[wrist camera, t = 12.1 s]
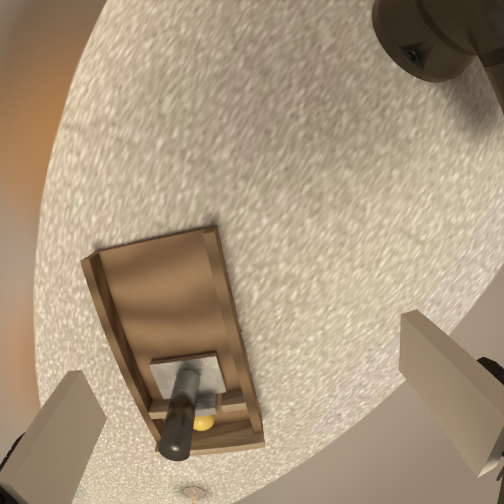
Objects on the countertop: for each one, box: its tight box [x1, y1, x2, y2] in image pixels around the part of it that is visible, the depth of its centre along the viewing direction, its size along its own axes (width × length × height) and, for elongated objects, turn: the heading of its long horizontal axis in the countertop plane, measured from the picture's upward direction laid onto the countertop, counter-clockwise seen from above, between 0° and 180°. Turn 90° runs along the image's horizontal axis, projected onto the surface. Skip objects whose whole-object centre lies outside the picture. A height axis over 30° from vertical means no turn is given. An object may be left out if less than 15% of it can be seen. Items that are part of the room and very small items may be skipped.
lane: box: [81, 225, 265, 457], centre depth 38 cm, size 30×16×6 cm, turn 11°
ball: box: [193, 415, 215, 431], centre depth 40 cm, size 4×4×4 cm
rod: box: [149, 352, 227, 461], centre depth 33 cm, size 7×9×14 cm
